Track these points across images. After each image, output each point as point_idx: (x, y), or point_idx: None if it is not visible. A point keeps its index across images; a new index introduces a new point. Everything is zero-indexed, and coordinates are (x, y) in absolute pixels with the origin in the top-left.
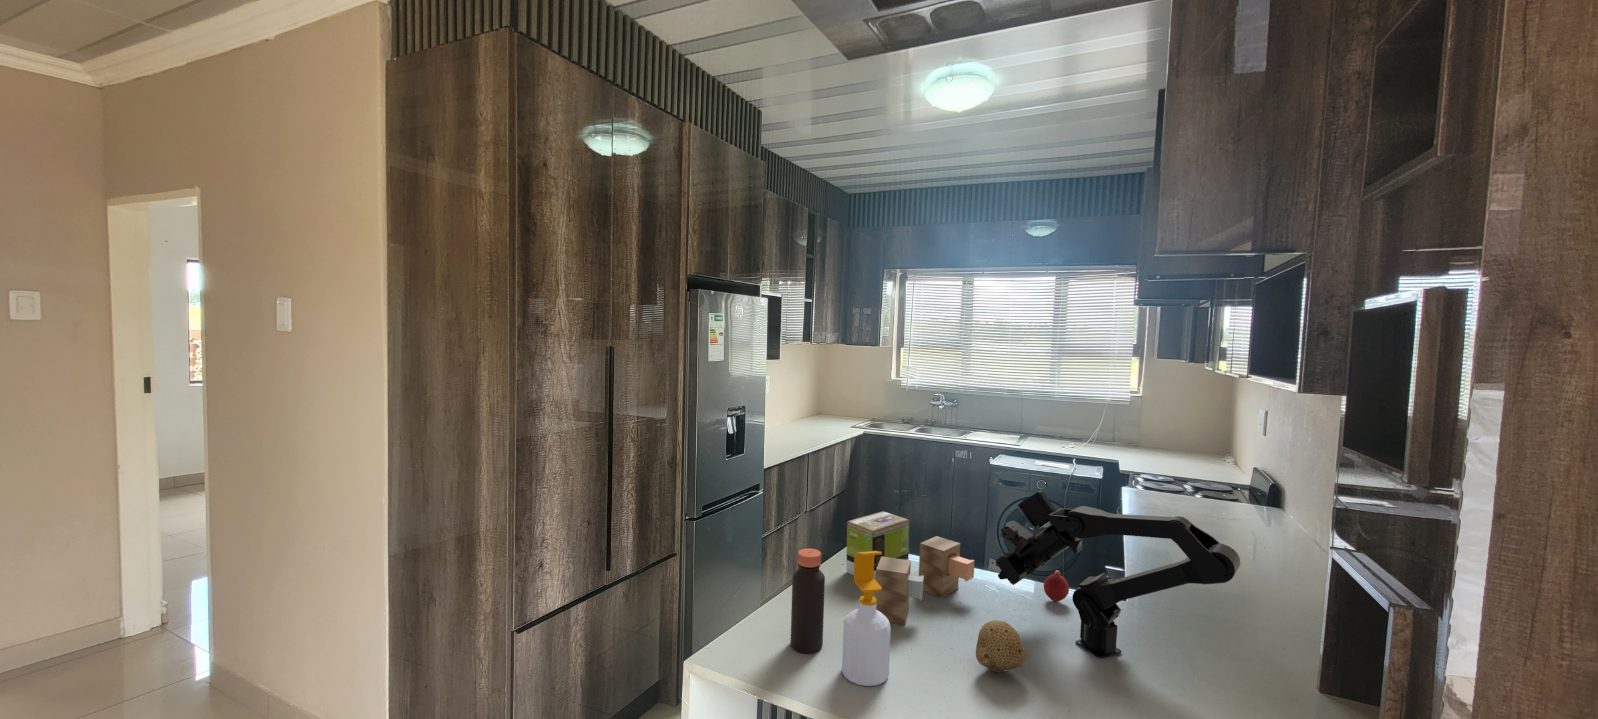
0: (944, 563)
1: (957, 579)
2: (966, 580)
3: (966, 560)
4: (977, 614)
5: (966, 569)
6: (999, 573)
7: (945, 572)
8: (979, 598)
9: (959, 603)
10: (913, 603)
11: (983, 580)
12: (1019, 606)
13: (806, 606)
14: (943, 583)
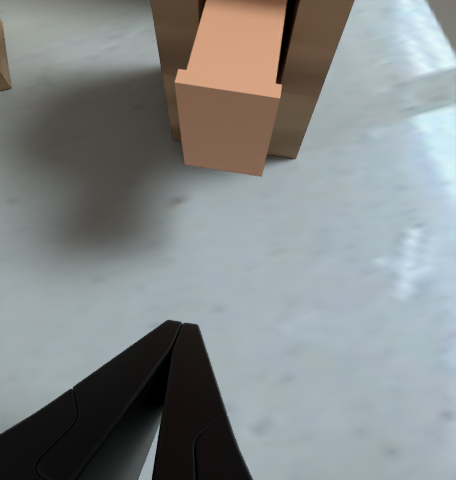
0: (161, 1)
1: (295, 130)
2: (184, 159)
3: (249, 63)
4: (103, 292)
5: (180, 110)
6: (145, 336)
7: (182, 58)
8: (265, 251)
9: (164, 202)
10: (67, 86)
11: (450, 212)
12: (318, 439)
13: None
14: (174, 98)
